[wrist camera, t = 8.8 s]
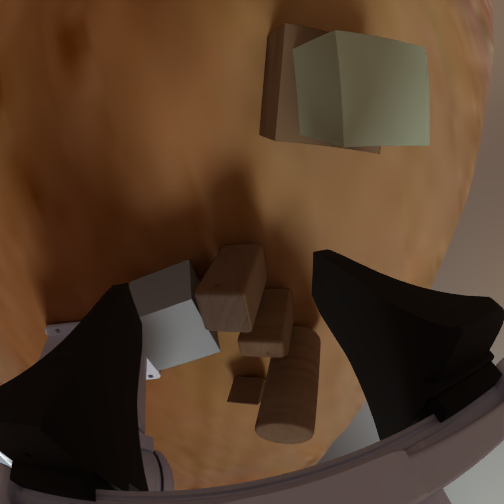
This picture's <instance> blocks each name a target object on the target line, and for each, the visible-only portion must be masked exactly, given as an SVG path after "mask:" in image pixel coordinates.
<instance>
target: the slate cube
mask: <svg viewBox="0 0 504 504" xmlns="http://www.w3.org/2000/svg"><path fill="white" fill-rule="evenodd" d="M199 284H200V281H199V279H198V277H197V275H196V273H195V271H194V269H193V267H192V264H191V262H190V260H189V259H188V260H186V261H183V262H180V263H178V264H175V265H172V266H170V267H167V268H165V269H162V270H159V271H157V272H154V273H151V274H149V275H146V276H144V277H141V278H138V279H136V280H133V281H131V282H130V285H129V289H130V292H131V295H132V298H133V300H134V303H135V306H136V309H137V312H138V314H139V317H140V320H141V322H142V352H143V354H144V355H145V356H146V358H147V359H148V360H149V361H150V363H151V364H152V365H153V366H154V367H155V369H156V370H157V371H159V370H163V369H166V368H170V367H173V366H176V365H180V364H183V363H186V362H189V361H193V360H196V359H199V358H202V357H205V356H208V355H212V354H215V353H218V352H221V351H220V345H219V340H218V335H217V331H208V330H206V329H205V327H204V324H203V320H202V317H201V314H200V311H199V308H198V304H197V301H196V298H195V290H196V289H197V287H198V285H199Z"/></svg>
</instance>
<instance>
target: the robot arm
mask: <svg viewBox="0 0 504 504" xmlns="http://www.w3.org/2000/svg"><path fill="white" fill-rule="evenodd" d="M312 296H313V299H314V301H315V303H316V306H317V308H318V310H319V312H320V314H321V316H322V317H323V319H324V321H325V322H326V324H327V325H328V327H329V329H330V330H331V332H332V333H333V335H334V337H335V338H336V340H337V341H338V343H339V344H340V346H341V348H342V349H343V351H344V352H345V354H346V356H347V358H348V359H349V361H350V363H351V365H352V367H353V369H354V372H355V374H356V376H357V378H358V380H359V383H360V385H361V388H362V390H363V392H364V395H365V397H366V400H367V402H368V405H369V408H370V411H371V413H372V416H373V419H374V422H375V425H376V428H377V432H378V435H379V438H380V441H379V442H376V443H374V444H372V445H370V446H367V447H365V448H362V449H360V450H357V451H355V452H352V453H349V454H347V455H344V456H341V457H338V458H336V459H333V460H330V461H327V462H324V463H321V464H318V465H314V466H311V467H308V468H304V469H301V470H297V471H294V472H290V473H286V474H282V475H278V476H274V477H269V478H265V479H260V480H255V481H250V482H244V483H239V484H232V485H226V486H219V487H211V488H202V489H191V490H177V491H174V477H173V473H172V469H171V467H170V465H169V463H168V461H167V459H166V458H165V456H164V455H163V454H162V453H161V452H159V451H156V450H154V441H153V437H150V436H147V435H145V402H146V380H148V379H157V378H160V376H161V373H160V371H157V370H156V369H155V367H154V366H153V365H152V364H151V363H150V361H149V360H148V359H147V358H146V356H145V355H144V354H143V352H142V322H141V320H140V317H139V314H138V312H137V309H136V306H135V303H134V300H133V298H132V295H131V292H130V289H129V286H128V283H124V284H118V285H113V286H112V287H111V288H110V289H109V290H108V291H107V292H106V293H105V294H104V295H103V296H102V298H101V299H100V300H99V301H98V302H97V303H96V305H95V306H94V307H93V308H92V309H91V310H90V312H89V313H88V314H87V315H86V316H85V317H84V318H83V319H82V321H80V322H71V323H62V324H53V325H47V326H46V327H45V332H46V334H47V336H48V338H47V341H46V343H45V346H44V348H43V351H42V353H41V356H40V359H39V361H38V362H37V363H35V364H34V365H33V366H31V367H30V368H29V369H27V370H26V371H24V372H23V373H21V374H20V375H18V376H17V377H15V378H13V379H12V380H10V381H8V382H7V383H5V384H3V385H1V386H0V451H1V452H2V453H3V454H5V455H6V456H7V457H8V458H10V459H11V460H12V461H13V462H12V468H11V467H9V466H7V465H4V464H2V463H0V504H451V502H450V501H449V499H448V497H447V496H446V493H445V492H444V490H443V488H444V487H445V486H447V485H448V484H450V483H451V482H452V481H454V480H455V479H457V478H458V477H459V476H461V475H462V474H464V473H465V472H466V471H467V470H469V469H470V468H471V467H473V466H474V465H475V464H477V463H478V462H479V461H480V460H481V459H483V458H484V457H485V456H486V455H487V454H489V453H490V452H491V451H492V450H493V449H494V448H495V447H496V446H498V445H499V444H500V443H501V442H502V441H503V440H504V358H503V359H502V360H501V361H500V362H499V363H498V364H497V365H496V366H495V365H494V364H493V363H492V360H493V358H494V355H493V354H492V352H491V351H490V348H491V346H492V344H493V343H494V341H495V339H496V337H497V335H498V333H499V331H500V329H501V327H502V324H503V321H504V310H503V308H502V307H501V306H500V305H499V304H498V303H496V302H495V301H494V300H493V299H492V298H490V297H480V296H464V295H457V294H450V293H445V292H439V291H435V290H430V289H426V288H422V287H418V286H415V285H412V284H409V283H406V282H403V281H399V280H397V279H394V278H391V277H389V276H387V275H384V274H382V273H379V272H377V271H375V270H372V269H370V268H368V267H366V266H364V265H362V264H359V263H357V262H355V261H353V260H351V259H349V258H347V257H345V256H343V255H340V254H338V253H336V252H333V251H331V250H328V249H327V250H321V251H315V252H313V277H312ZM58 329H59V330H58Z"/></svg>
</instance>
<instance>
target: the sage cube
mask: <svg viewBox="0 0 504 504" xmlns="http://www.w3.org/2000/svg"><path fill="white" fill-rule="evenodd" d="M293 57H294V66H295V77H296V87H297V99H298V112H299V125H300V135H303V136H307V137H311V138H314V139H318V140H321V141H325V142H328V143H331V144H335V145H338V146H341V147H362V146H429V145H430V98H429V78H428V65H427V55H426V48H425V47H421V46H417V45H414V44H410V43H406V42H402V41H397V40H393V39H388V38H383V37H378V36H373V35H367V34H361V33H354V32H347V31H339V30H334V31H331V32H329V33H327V34H324V35H322V36H320V37H318V38H315V39H313V40H311V41H309V42H307V43H305V44H302V45H300V46H298V47H296V48H294V49H293Z"/></svg>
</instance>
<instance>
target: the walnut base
mask: <svg viewBox="0 0 504 504" xmlns="http://www.w3.org/2000/svg"><path fill="white" fill-rule="evenodd" d="M327 33H329V32H326V31H322V30H318V29H313V28H309V27H304V26H300V25H295V24H290V23H284V24H283V25H281V26H280V27H279V28H278V29H276V30H275V31H274V32H273V33H271V34H270V35H269V36H268V37H267V48H266V60H265V72H264V84H263V96H262V108H261V120H260V132H259V135H261V136H263V137H266V138H269V139H271V140H274V141H283V142H294V143H304V144H314V145H322V146H330V147H338V148H345V149H352V150H359V151H365V152H371V153H377V154H380V150H381V146H362V147H341V146H338V145H335V144H331V143H328V142H325V141H321V140H318V139H314V138H311V137H307V136H303V135H300V125H299V112H298V99H297V87H296V77H295V66H294V57H293V49H294V48H296V47H298V46H300V45H302V44H305V43H307V42H309V41H311V40H313V39H315V38H318V37H320V36H322V35H324V34H327Z"/></svg>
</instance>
